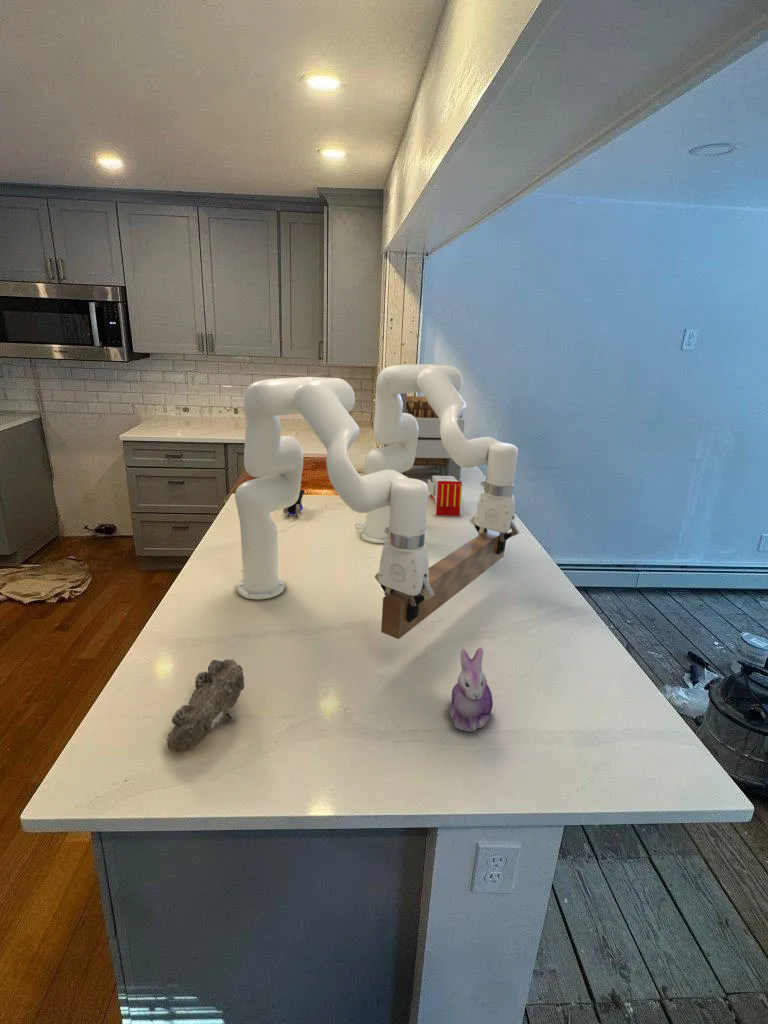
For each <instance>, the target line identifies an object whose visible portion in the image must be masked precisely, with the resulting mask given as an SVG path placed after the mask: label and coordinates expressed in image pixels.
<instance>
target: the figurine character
mask: <svg viewBox="0 0 768 1024" xmlns="http://www.w3.org/2000/svg"><path fill="white" fill-rule="evenodd" d="M304 493H305V489H300V493H299V497H298V500H297V501H296V503H295V504H294V505H292V506H290V507H287V508H284V509H282V512H283V514H287V516H286V517H287V518H290V516H291V515H293V516H294V518H297V517H298V515H299V514H300V513H301V511H302V510H303V509H304V506H303V497H304V495H305V494H304Z"/></svg>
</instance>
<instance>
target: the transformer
mask: <svg viewBox="0 0 768 1024" xmlns="http://www.w3.org/2000/svg"><path fill="white" fill-rule="evenodd" d="M407 394H408V393H401V394H400V395H401V398H402V401H403V409H402V413H408V414H411V415H412V416H414V418H415V419H416V421H417V423H418V429H419V432H418V440H417V447H416V454H415V460H414V463H413V466H412V467H415V466H416V467H417V466H418V467H436V468H437V470H438V469H439V473H440V474H441V475H442V476H453V477H454V478H455V479H456V480H458V481H459V482H461V472H462V467H461V466H459V465H458V464H456V463H455V461H454V460H453V459H452V458H451V456H450V455H449V453H448V452H447V450H446V449H445V447H444V446H443V443H442V440H441V435H440V423H441V421H440V419H439V417H438V416H437V414H436V413H435V411H434V410H433V408H432V407H431V405H430V404H429V403H428V401H427V400H426V398H425V397H424V396H415V395H414V396H413V395H412V396H411V395H407ZM457 423H458V426H459V428H460V430H461V432H462V433H463V434H464V431H465V430H464V429H465V419H464V418H463V414H462V415H461V416H460V417H459V418H458V419H457ZM393 445H395V444H388V445H383V447H385V446H393ZM401 474H403V475H404V472H401Z"/></svg>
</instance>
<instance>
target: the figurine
mask: <svg viewBox="0 0 768 1024" xmlns="http://www.w3.org/2000/svg"><path fill="white" fill-rule="evenodd" d="M459 655H460V666H461V667H460V668H461V671H460V673H459V675H458V678H457V682H456V684H455V685H454V686H453V688H452V690H451V703H450V707H449V715H450V716H449V717H450V718H451V719H452V721H453V724H454V727H455V728H456V729H457V730H461V731H464V732H470V733H471V732H472V733H473V732H475V731H476V730H477V729H481V728H482V729H483V728H484V727H485V726H486V724H487V723H488V721H489V719H490V716H491V714H492V713H491V712H492V710H493V705H494V704H493V703H494V702H493V701H494V700H493V695H492V691H491V688H490V686H489V685H488V680H487V677H486V675H485V673H484V670H483V665H482V664H483V659H484V648H483V647H478V648H477V649H476V651H475V654H474V655H473V657H472V658H471V657H470V655H469V653H468V651H467V650H466V649H465V648H461V649H460V653H459Z"/></svg>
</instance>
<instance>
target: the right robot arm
mask: <svg viewBox="0 0 768 1024" xmlns="http://www.w3.org/2000/svg"><path fill="white" fill-rule="evenodd" d="M463 384H464V379H463V376H462V373H461V371H460V370H459V369H458V368H457V367H455V366H452V365H441V364H427V363H420V364H419V363H417V364H397V365H395V364H394V365H390V366H387V367H385V368H383V369H381V371H380V372H379V373H378V375H377V378H376V383H375V389H376V404H375V413H374V421H373V430H372V431H373V432H372V434H373V439H374V441H375V442H376V443H377V444H379V445H383V446H380V447H376V448H373V449H371V450H369V451H368V453H367V454H366V455H365V459H364V465H365V471H366V475H367V474H370V473H374V472H378V471H382V470H387V469H389V470H395V471H397V472H399V473H401V472H403V473H405V472H407V471H409V470H411V469H412V467H414V466H413V463H414V460H415V454H416V447H417V440H418V432H419V429H418V423H417V421H416V419H415V418H414V416H412V415H411V414H408V413H402V409H403V401H402V398H401V395H400V394H401V393H407V394H413V393H414V394H415V393H421V394H422V395H423V397H425V398H426V400H427V401H428V403H429V404H430V405H431V407H432V408H433V410H434V411H435V413H436V414H437V416H438V417H439V419H440V421H441V423H440V435H441V440H442V443H443V446H444V447H445V449H446V450H447V452H448V453H449V455H450V456H451V458H452V459H453V460H454V461H455V463H456V464H458V465H459V466H461V468H463V469H469V468H475V467H478V466H485V465H486V474H485V480H484V481H483V480H481V482H480V486H481V487H483V490H481V492H480V495H479V497H478V501H477V505H476V510H475V515H474V516H473V517H471V519H469V522H470V524H472V526H473V527H474V528H475V530H476V532H477V534H478V535H480V534H481V533H483V532H484V531H486V530H488V529H489V530H493V531H497V532H499V534H500V540H499V541H498V546H497V554H498V555H499V554H501V553H502V552H503V551H504V552H505V551H506V544H507V540H509V539H510V538H512V537H515V536H518V535H519V534H520V530H519V528H518V526H517V523H516V522H515V521H516V520H515V518H516V500H515V494H513V493H514V485H515V477H516V471H517V461H518V454H519V453H518V452H519V450H518V447H517V446H516V445H514V444H512V443H508V442H503V441H500V440H498V439H496V438H494V437H491V436H482V437H481V436H480V437H474V438H470V439H467V438H466V436H465V435H464V432H463V433H462V432H461V430H460V428H459V426H458V423H457V419H458V418H459V417H460V416H461V415H462V416H463V414H464V413H465V411H466V408H467V403H466V401H465V400H464V398H463V397H462V395H461V394H460V393H459V392H460V390H461V389H462V387H463ZM388 444H395V445H393V446H385V447H384V445H388ZM365 520H366V521H364V522H362V521H355V522H354V527H355V529H356V530H361V534H360V535H361V538H362V539H363V540H364V541H366V542H368V543H373V544H384V543H385V541H386V540H388V534H387V533H385V528H386V527H389V520H390V506H387V507H382V508H379V509H377V510H374V511H371V512H368V513H366V519H365ZM510 530H511V531H510ZM509 531H510V532H509ZM478 535H477V536H478Z"/></svg>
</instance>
